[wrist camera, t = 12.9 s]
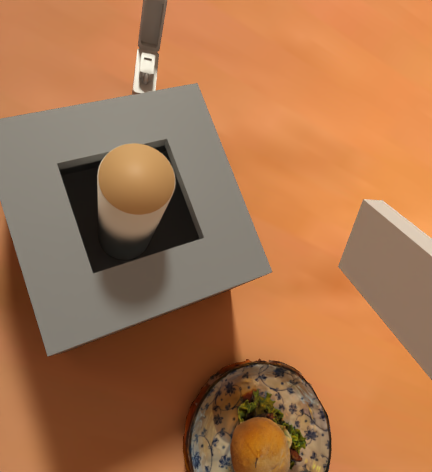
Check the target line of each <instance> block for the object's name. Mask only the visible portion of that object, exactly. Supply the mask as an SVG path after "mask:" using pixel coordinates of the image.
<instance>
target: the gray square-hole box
mask: <svg viewBox="0 0 432 472" xmlns="http://www.w3.org/2000/svg"><path fill="white" fill-rule="evenodd" d="M132 143H136V144H144V145H147V146H150V147H152V148H154V149H156V150H158V151H159V152H160V153H162V154H163V155H164V156H165V157H166V158H167V160H168V161H169V162H170V164H171V166H172V168H173V171H174V174H175V189H174V193H173V195H172V197H171V199H170V201H169V203H168V206H167V208H166V210H165V212H164V214H163V216H162V218H161V220H160V222H159V224H158V226H157V228H156V230H155V232H154V234H153V236H152V238H151V240H150V242H149V244H148V246H147V248H146V249H145V251H144V252H143V253H142V254H141V255H139V256H137V257H135V258H133V259H129V260H120V259H116V258H113V257H112V256H110V255H108V254H107V253H106V252H105V251H104V250H103V248H102V247H101V245H100V242H99V237H98V189H97V174H98V169H99V165H100V163H101V161H102V160H103V158H104V157H105V156H106V155H107V154H108V153H109V152H110V151H111V150H113V149H114V148H116V147H118V146H121V145H124V144H132ZM0 201H1V204H2V207H3V211H4V214H5V217H6V220H7V224H8V227H9V230H10V234H11V237H12V240H13V244H14V247H15V250H16V254H17V257H18V260H19V263H20V267H21V270H22V273H23V277H24V280H25V283H26V287H27V290H28V293H29V297H30V300H31V303H32V306H33V310H34V313H35V316H36V320H37V323H38V326H39V330H40V333H41V336H42V340H43V343H44V346H45V349H46V353H47V356H52V355H56V354H60V353H63V352H66V351H69V350H71V349H74V348H77V347H79V346H82V345H84V344H87V343H90V342H92V341H95V340H98V339H100V338H103V337H106V336H108V335H111V334H114V333H116V332H119V331H122V330H124V329H127V328H130V327H132V326H135V325H138V324H140V323H143V322H145V321H148V320H151V319H153V318H156V317H159V316H161V315H164V314H167V313H169V312H172V311H175V310H177V309H180V308H183V307H185V306H188V305H191V304H193V303H196V302H199V301H201V300H204V299H207V298H209V297H212V296H214V295H217V294H220V293H222V292H225V291H228V290H230V289H233V288H235V287H238V286H240V285H242V284H245V283H247V282H250V281H252V280H255V279H257V278H259V277H262V276H264V275H267V274H269V273H271V272H272V270H271V267H270V265H269V262H268V260H267V257H266V255H265V252H264V250H263V247H262V245H261V242H260V240H259V237H258V235H257V232H256V230H255V227H254V225H253V222H252V220H251V217H250V215H249V212H248V210H247V207H246V205H245V202H244V199H243V197H242V194H241V192H240V189H239V187H238V184H237V182H236V179H235V177H234V174H233V172H232V169H231V167H230V164H229V162H228V159H227V157H226V154H225V152H224V149H223V147H222V144H221V142H220V139H219V137H218V134H217V131H216V129H215V126H214V124H213V121H212V119H211V116H210V114H209V111H208V109H207V106H206V104H205V101H204V99H203V96H202V94H201V91H200V89H199V86H198V84H197V83H195V84H190V85H184V86H179V87H173V88H168V89H162V90H157V91H151V92H146V93H140V94H135V95H129V96H124V97H118V98H113V99H107V100H102V101H96V102H90V103H85V104H79V105H74V106H68V107H63V108H57V109H52V110H46V111H41V112H35V113H30V114H24V115H19V116H13V117H8V118H2V119H0Z"/></svg>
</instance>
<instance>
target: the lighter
mask: <svg viewBox="0 0 432 472" xmlns="http://www.w3.org/2000/svg"><path fill="white" fill-rule="evenodd" d="M166 5H167V0H143V7H142V15H141V24H140V32H139V41H138V46H139V49H138V50H137V58H136V66H135V74H134V82H133V91H132V95H135V94H140V93H146V92H151V91H155V90H156V79H157V68H158V57H159V54H158V53H157V52H158V51H159V49H160V43H161V37H162V30H163V24H164V18H165V12H166Z"/></svg>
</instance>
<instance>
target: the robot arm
mask: <svg viewBox="0 0 432 472" xmlns="http://www.w3.org/2000/svg"><path fill="white" fill-rule="evenodd" d="M338 267H339V268H340V269H341V270H342V272H343V273H344V274H345V275H346V277H347V278H348V279H349V280H350V281H351V283H352V284H353V285H354V286H355V287H356V289H357V290H358V291H359V292H360V294H361V295H362V296H363V297H364V298H365V300H366V301H367V302H368V303H369V304H370V306H371V307H372V308H373V309H374V311H375V312H376V313H377V314H378V315H379V317H380V318H381V319H382V320H383V321H384V323H385V324H386V325H387V326H388V327H389V329H390V330H391V331H392V332H393V334H394V335H395V336H396V337H397V338H398V340H399V341H400V342H401V343H402V344H403V346H404V347H405V348H406V349H407V351H408V352H409V353H410V354H411V355H412V357H413V358H414V359H415V360H416V361H417V363H418V364H419V365H420V366H421V368H422V369H423V370H424V371H425V372H426V374H427V375H428V376H429V377H430V378H431V380H432V238H430V237H429V236H428V235H426V234H425V233H424V232H422V231H421V230H420V229H419V228H417V227H416V226H415V225H413V224H412V223H411V222H410V221H408V220H407V219H406V218H404V217H403V216H402V215H401V214H399V213H398V212H397V211H395V210H394V209H393V208H392V207H390V206H389V205H388V204H386V203H385V202H384V201H383V200H367V199H363V201H362V204H361V207H360V209H359V212H358V215H357V218H356V220H355V223H354V226H353V228H352V231H351V234H350V236H349V239H348V242H347V244H346V247H345V250H344V252H343V255H342V258H341V260H340V263H339V266H338Z"/></svg>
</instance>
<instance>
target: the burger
mask: <svg viewBox="0 0 432 472" xmlns="http://www.w3.org/2000/svg"><path fill="white" fill-rule="evenodd" d="M183 453H184V460H185V466H186V469H187V472H328V470H329V465H330V459H331V432H330V425H329V419H328V415H327V413H326V411H325V409H324V408H323V406H322V404H321V402H320V401H319V399H318V397H317V395H316V393H315V392H314V390H313V388H312V386H311V384H310V383H308V382H307V381H306V380H305V379H304V378H303V376H302V375H301V373H300V372H299V371H298V370H296V369H295V368H293V367H291V366H289V365H287V364H285V363H282V362H278V361H271V360H269V362H266V361H261V360H260V359H259V360H258V361H255V362H251V361H250V360H248V359H246V361H244V362H238V363H235V364H231V365H229V366H226V367H224V368H222V369H221V370H220V371H218V372H217V373H216V374H215V375H213V376H211V377H210V379H209V381H208V382H207V383H206V385H205V386H204V387H203V388H202V389H201V392H200V393H199V395H198V396H197V398H196V400H195V401H194V402H193V403H192V404H191V407H190V410H189V413H188V415H187V417H186V425H185V434H184V436H183Z"/></svg>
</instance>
